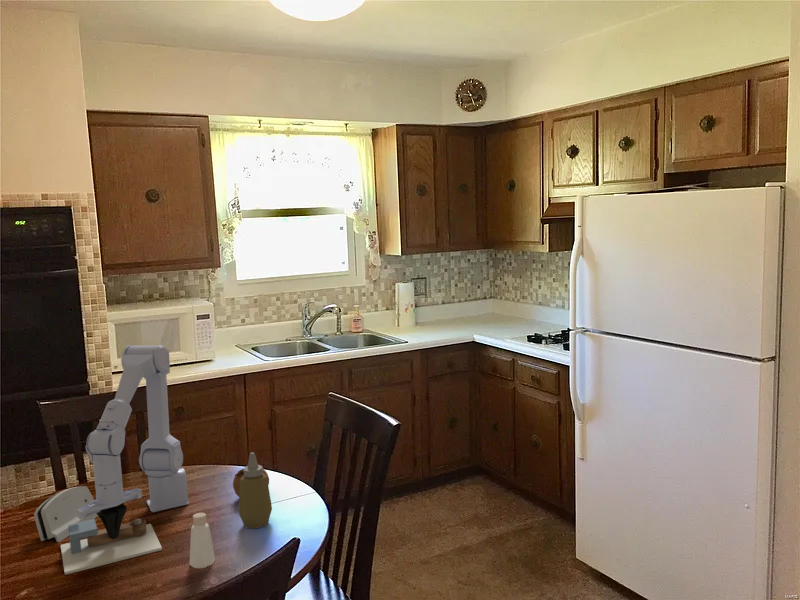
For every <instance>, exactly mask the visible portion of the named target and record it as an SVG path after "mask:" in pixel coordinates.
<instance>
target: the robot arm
mask: <svg viewBox="0 0 800 600" xmlns="http://www.w3.org/2000/svg"><path fill="white" fill-rule="evenodd" d="M120 361H121V366H122V369H123V371H122V373H121V376H120V380H119V383H118V387H117V390H116V392H115V396H114V399H112V400H109V401H108V402H107V403H106V406H105V408H104V411H103V413H102V415H101V418H100V420H99V423H98V424H97V426H96V429H94V430H93V431H91V432H90V433H89V434H88V435H87V438H86V442H85V443H86V445H85V451H86V453H87V454H88V455H89V459H90V460H89V461H90V463H91V464H92V466H93V476H94V487H95V498H96V499H94V501H93V502H91V503H90V504H88V505H86V506H84V507H82V508H80V509H77V516H78V518H79V519H81V520H83V519H86V517H87V516H90V515H93V514H95V513H96V514H97V515H98V516H99V517H98V518H99V519H100V521H101V522H102V524H103V526H104V529H106V531H107V533H108V537H109V538H111V539H116V538H118V537H119V530H120V526H121V525H122V522H123V519H124V517H125V514H126V513H127V509H128V507H127V505H125V503H128V502H131V501H133V500H136V499H141V498H143V492H142V489H141V488H138V487H136V488H133V489H128V490H124V487H123V486H124V485H123V475H122V474H123V473H122V465H121V464H122V463H121V462H122V461H121V453H122V451H123V449H124V447H125V443H126V439H125V437H126V426H127V424H128V422H129V418H130V416H131V413H132V411H133V408H132V406H131V404H130V402H131V401H132V400H133V397H134V395H135V393H136V391H137V389H138V387H139V385H140V383H141V381H142V380H143V378H144V379H145V386H146V387H145V389H146V405H147V407H146V408H147V424H148V425H147V426H148V438H147V439H145V441H144V442H142V444H140V454H139V458H138V461H139V462H138V463H139V467H140V468H141V471H144V473H145V474H144V475H147V478H148V479H147V480H148V481H147V482H148V493H149V499H148V500H146V504H147V506H148V508H149V510H150V512H151V513H156V512H160V511H165V510H168V509H173V508H179V507H182V506H187V505H189V504H190V502H189V496H188V494H189V493H188V481H187V474H186V470H185V468H184V467H182V465H183V463H184V454H183V453H184V452H183V451H182V446H181V441H180V440H178V439H177V438H175V437H174V436H173V435H172V434H171V433H170V417H169V402H168V401H169V400H168V383H167V381H168V379H167V378H168V377H167V375H169V374H171V365H170V364H171V363H170V351H169V350H168V349H167V348H166V346H165V345H163V344H159V345H133V344H129V345H126V347H125V348H124V350H123V351H122V354H121V359H120Z"/></svg>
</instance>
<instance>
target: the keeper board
mask: <svg viewBox="0 0 800 600" xmlns="http://www.w3.org/2000/svg"><path fill="white" fill-rule="evenodd" d="M68 529H69V536H68V537H69V542H66V543H62V544H60V552H61V556H62V565H63V571H64V575H65V576H66V575H71V574H75V573H78V572H81V571H85V570H88V569H93V568H97V567H101V566H105V565H108V564H112V563H117V562H120V561H124V560H128V559H132V558H136V557H139V556H143V555H148V554H152V553H156V552H160V551H162V550H163V548H162V547H163V546H162V544H161V543H160V541H159V539H158V536H157V534H156V532H155V530H154V527H153V525H152V524H151V523H146V533H145V534H143V535H140V536H132V537H128V538H124V539H120V540H116V541H112V542H108V543H104V544H100V545H96V546H92V547H89V546H88V542H87V537H89V536H94V535H98V532H97V531H98V527H97V524H96V520H95V519H92V520H87V521H83V522H79V523H74V524H70V525H68Z"/></svg>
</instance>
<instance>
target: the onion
mask: <svg viewBox="0 0 800 600" xmlns="http://www.w3.org/2000/svg"><path fill="white" fill-rule="evenodd" d="M244 468H245V467H243V468H242V469H240V470H238V471H237V473H236V474H234V477H233V480H232V481H233V482H232V488H233V490H234V493H235V494H236V496H237V497H238V498H239V497H240V479H241V478H242V477H243V476H244V470H243V469H244ZM263 474H265V475H266V476H267V481H268V486H269V485H270V477H269V474H268V472H267V471H266V469H265V468H263Z"/></svg>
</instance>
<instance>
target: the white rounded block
mask: <svg viewBox="0 0 800 600" xmlns="http://www.w3.org/2000/svg"><path fill="white" fill-rule="evenodd" d="M93 501H95V499H94V496H93V495H92V493H91V491H90V489H89V488H88V486H86V485H83V486H82V485H81V486H74V487H70V488H66V489H63V490H60V491H58V492H56V493H54V494H53V495H52V496H50V497H48V498H47V499H46V500H44V502H42V503H41V504H40V505H39V506H38V508H36V510H35V512H34V513H33V516H34V521H35V525H36V528H37V532H38V535H39V539H40V541H41V542H43V541H46V540H50V539H52V538H55V541H56V543H60V542H61V541H63V540H65V539H66V538H68V537H69V529H68V525H70V524H74V523H79V522H83V521H87V520H92V519H95V518H96V517H97V518H99V517H98V515H97V514H96V513H95V514H93V515H90V516H87V517H86V519H83V520H81V519H79V518H78V516H77V509H80V508H82V507H84V506H86V505H88V504H90V503H91V502H93ZM97 518H96V519H97Z"/></svg>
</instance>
